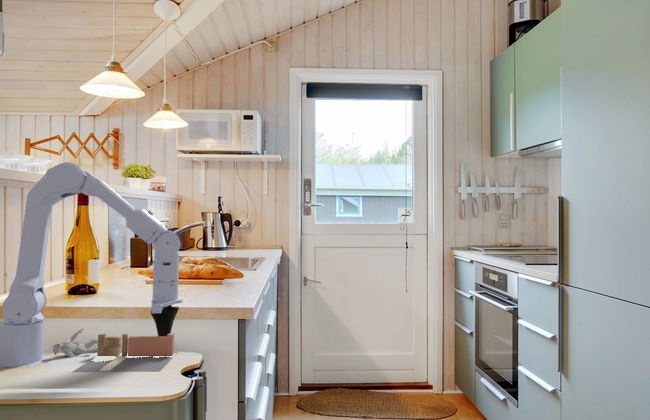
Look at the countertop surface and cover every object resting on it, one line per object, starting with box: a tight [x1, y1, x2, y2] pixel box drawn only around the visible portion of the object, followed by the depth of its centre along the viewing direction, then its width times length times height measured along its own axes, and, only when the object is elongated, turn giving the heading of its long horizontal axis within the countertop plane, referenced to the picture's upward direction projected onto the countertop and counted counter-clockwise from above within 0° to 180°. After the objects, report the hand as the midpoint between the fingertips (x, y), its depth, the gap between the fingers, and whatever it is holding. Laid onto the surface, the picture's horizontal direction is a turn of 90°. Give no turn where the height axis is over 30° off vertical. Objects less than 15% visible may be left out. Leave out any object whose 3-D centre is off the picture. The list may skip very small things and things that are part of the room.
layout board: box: [72, 351, 179, 373], centre depth 95 cm, size 17×14×1 cm
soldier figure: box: [52, 328, 98, 358], centre depth 101 cm, size 8×5×12 cm
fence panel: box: [128, 333, 175, 356], centre depth 99 cm, size 10×1×5 cm, turn 94°
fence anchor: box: [96, 333, 129, 357], centre depth 99 cm, size 6×1×5 cm, turn 94°
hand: (164, 338), depth 105 cm, fingers closed
